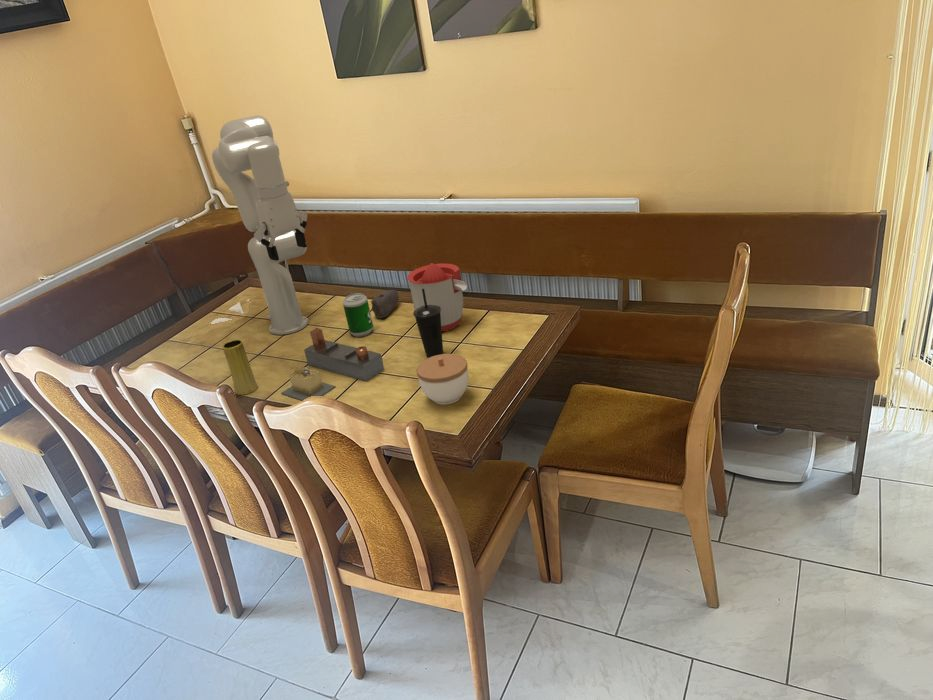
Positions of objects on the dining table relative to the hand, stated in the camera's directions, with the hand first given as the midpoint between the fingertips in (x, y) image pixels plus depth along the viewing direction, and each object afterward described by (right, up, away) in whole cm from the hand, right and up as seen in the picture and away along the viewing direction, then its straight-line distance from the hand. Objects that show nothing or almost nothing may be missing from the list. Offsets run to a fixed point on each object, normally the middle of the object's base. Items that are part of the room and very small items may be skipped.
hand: (288, 253), depth 195 cm
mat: (+5, -37, 0) cm, 38 cm away
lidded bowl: (+43, -38, -14) cm, 59 cm away
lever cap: (+5, -37, 0) cm, 37 cm away
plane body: (+14, -31, +9) cm, 35 cm away
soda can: (+16, -21, +29) cm, 39 cm away
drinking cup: (+39, -28, +8) cm, 49 cm away
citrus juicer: (+41, -19, +25) cm, 52 cm away
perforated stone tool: (+22, -14, +41) cm, 49 cm away
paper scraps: (-34, -15, +58) cm, 69 cm away
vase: (-13, -37, +6) cm, 40 cm away
